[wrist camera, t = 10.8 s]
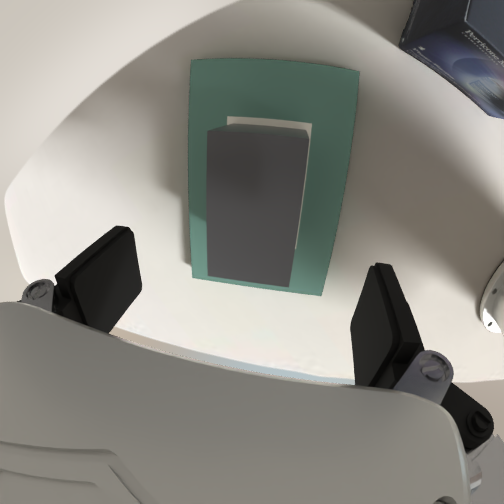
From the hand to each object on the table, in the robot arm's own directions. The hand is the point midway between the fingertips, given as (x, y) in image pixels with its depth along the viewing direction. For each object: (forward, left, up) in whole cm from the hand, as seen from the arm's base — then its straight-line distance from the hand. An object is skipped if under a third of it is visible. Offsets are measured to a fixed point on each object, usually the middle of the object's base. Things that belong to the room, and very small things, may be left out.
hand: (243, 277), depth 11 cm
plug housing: (+1, 0, -12) cm, 12 cm away
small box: (-14, -14, -14) cm, 24 cm away
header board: (+1, 0, -13) cm, 13 cm away
